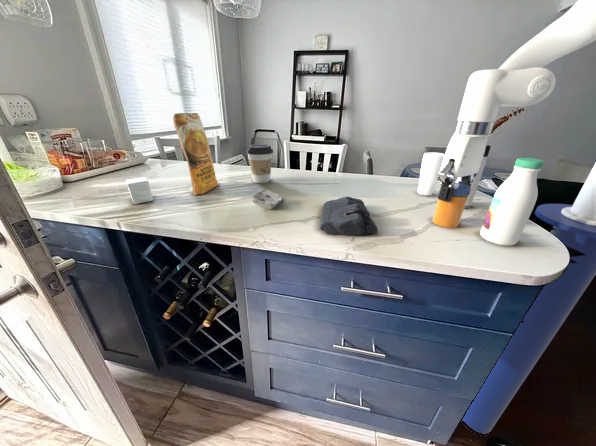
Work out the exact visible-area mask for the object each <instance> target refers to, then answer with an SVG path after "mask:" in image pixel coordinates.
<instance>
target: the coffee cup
mask: <svg viewBox="0 0 596 446" xmlns="http://www.w3.org/2000/svg"><path fill="white" fill-rule="evenodd" d="M245 151H246V154H247V157H248V162H249V167H250V172H251V176H252V180H253V182H254V183H257V184H265V183H269V182H270V180H271V171H272V158H273V157H272V156H273V153H274V149H273V148H272V147H271V145H270V144H263V143H262V144H261V143H257V144H250V145H248V147H247V149H246V150H245Z"/></svg>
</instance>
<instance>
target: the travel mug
mask: <svg viewBox="0 0 596 446" xmlns="http://www.w3.org/2000/svg"><path fill="white" fill-rule="evenodd" d="M491 147H492V146H491V145H488V144H486V148H485V152H484V156H483V159H482V163H481V166H480V170H479V171H478V172H477V173H476V174H477V175H476V176H475V177H474V181H473V183H472V184H471V183H470V184H471V191H470V194H469V195H468V198H467V201H466V204H465V207H464V209H470V208H471V207H472V204H473V201H474V198H475V196H476V194H477V193H476V192H477V190H478V187H479V184H480V180H481V178H482V175H483V172H484V169H485V166H486V163H487V160H488V158H489V153H490V151H491ZM459 181H461V177H458V178H457V180H456V183H458V182H459Z"/></svg>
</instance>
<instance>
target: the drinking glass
mask: <svg viewBox="0 0 596 446" xmlns="http://www.w3.org/2000/svg"><path fill="white" fill-rule="evenodd" d="M444 156H445V153H442V152H436V151H432V152H431V151H428V152H427V151H426V152H424V153H423V157H422V161H421V165H420V171H419V172H420V173H419V181H418V187H417V193H418V194H419V195H421V196H425V197H426V196H427V197H428V196H432V195H433V194H434V191H435V188H436V185H437V182H438V179H439V178H440V177H439V173H440V169H441V165H442V162H443V159H444Z"/></svg>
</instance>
